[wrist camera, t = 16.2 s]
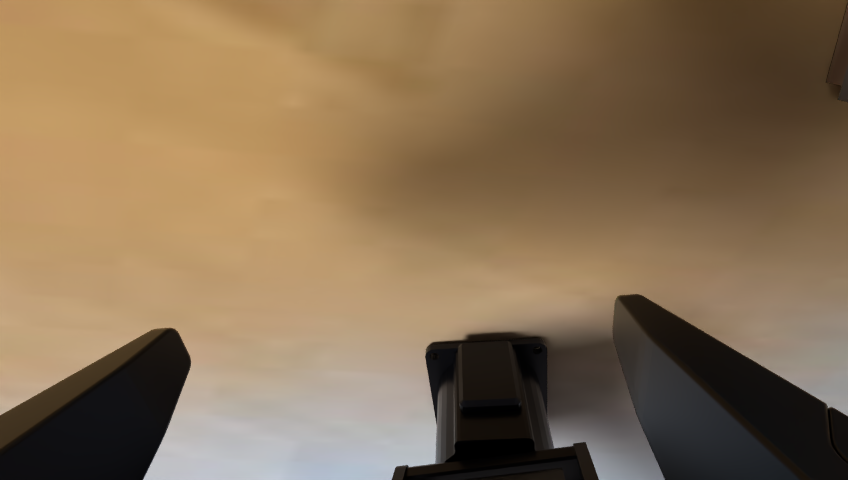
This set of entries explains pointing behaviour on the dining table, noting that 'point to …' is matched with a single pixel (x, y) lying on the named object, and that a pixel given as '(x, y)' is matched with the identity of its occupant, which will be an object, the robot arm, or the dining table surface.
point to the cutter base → (841, 61)
